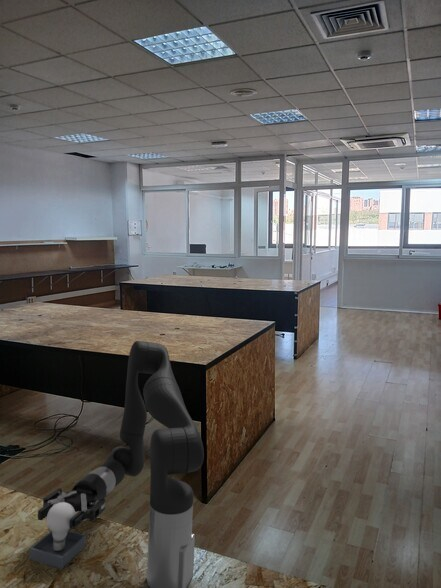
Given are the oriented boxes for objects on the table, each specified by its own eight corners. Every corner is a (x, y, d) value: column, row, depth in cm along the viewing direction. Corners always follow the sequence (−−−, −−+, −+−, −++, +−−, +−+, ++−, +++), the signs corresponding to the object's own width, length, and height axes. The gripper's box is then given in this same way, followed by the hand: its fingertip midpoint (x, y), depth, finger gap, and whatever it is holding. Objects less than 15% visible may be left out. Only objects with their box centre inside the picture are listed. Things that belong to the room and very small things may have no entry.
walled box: (86, 545, 106) (86, 535, 106) (62, 569, 98) (62, 557, 98) (54, 537, 109) (55, 526, 108) (29, 559, 100) (29, 548, 100)
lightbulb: (38, 551, 102) (41, 505, 101) (59, 538, 108) (63, 494, 107) (57, 562, 99) (60, 514, 99) (78, 547, 105) (82, 502, 104)
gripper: (72, 468, 118) (29, 498, 103) (119, 478, 114) (82, 511, 99) (71, 495, 119) (28, 529, 103) (118, 506, 115) (81, 543, 99)
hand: (54, 520), depth 101 cm, fingers open, 8 cm apart
